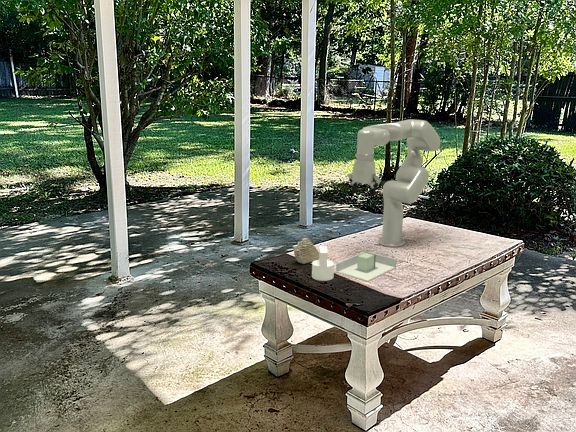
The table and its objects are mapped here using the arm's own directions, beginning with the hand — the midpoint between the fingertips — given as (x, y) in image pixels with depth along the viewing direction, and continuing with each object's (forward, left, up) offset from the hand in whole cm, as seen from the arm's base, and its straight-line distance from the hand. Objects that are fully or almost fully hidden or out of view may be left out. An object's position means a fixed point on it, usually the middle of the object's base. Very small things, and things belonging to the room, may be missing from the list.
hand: (363, 195), depth 246 cm
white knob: (+35, +5, -29) cm, 45 cm away
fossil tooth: (+25, -12, -29) cm, 40 cm away
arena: (+16, +14, -28) cm, 35 cm away
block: (+16, +14, -28) cm, 35 cm away
